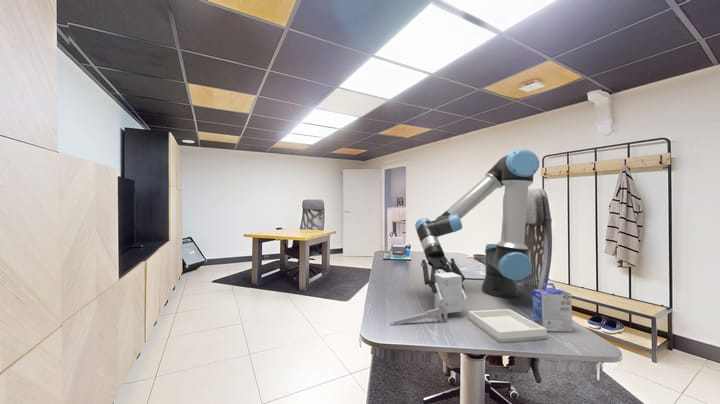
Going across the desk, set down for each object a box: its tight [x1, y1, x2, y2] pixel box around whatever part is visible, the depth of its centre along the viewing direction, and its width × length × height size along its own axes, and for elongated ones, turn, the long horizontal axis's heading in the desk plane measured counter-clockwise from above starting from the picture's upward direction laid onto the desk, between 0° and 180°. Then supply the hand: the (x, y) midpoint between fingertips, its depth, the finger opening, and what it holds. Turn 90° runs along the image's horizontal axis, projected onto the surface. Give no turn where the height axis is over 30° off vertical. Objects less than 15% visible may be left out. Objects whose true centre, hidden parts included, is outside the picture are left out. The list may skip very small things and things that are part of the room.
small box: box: [434, 272, 464, 314], centre depth 96 cm, size 8×6×13 cm
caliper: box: [390, 304, 448, 326], centre depth 89 cm, size 20×1×6 cm, turn 98°
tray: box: [468, 308, 548, 344], centre depth 85 cm, size 16×16×3 cm
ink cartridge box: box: [531, 282, 574, 333], centre depth 86 cm, size 10×6×14 cm, turn 89°
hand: (452, 300), depth 93 cm, fingers closed on small box, 8 cm apart
